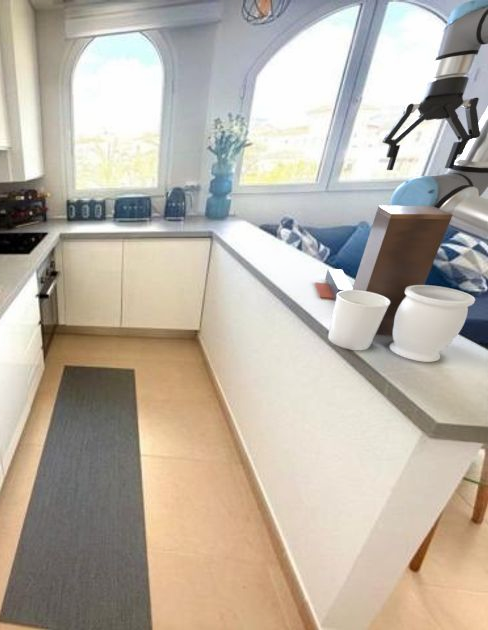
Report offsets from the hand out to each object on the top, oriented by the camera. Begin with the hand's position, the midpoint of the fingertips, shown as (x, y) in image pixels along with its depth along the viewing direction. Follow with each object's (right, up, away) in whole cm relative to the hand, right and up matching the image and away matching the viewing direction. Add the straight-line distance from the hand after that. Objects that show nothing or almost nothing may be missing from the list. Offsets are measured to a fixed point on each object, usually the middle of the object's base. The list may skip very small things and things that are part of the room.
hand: (418, 169), depth 97 cm
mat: (-12, -34, +14) cm, 39 cm away
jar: (-20, -51, -18) cm, 57 cm away
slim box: (-12, -34, +14) cm, 38 cm away
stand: (-18, -44, -6) cm, 48 cm away
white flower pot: (-30, -48, -12) cm, 58 cm away
